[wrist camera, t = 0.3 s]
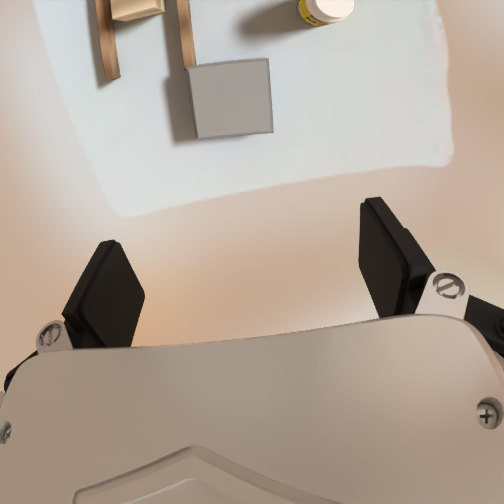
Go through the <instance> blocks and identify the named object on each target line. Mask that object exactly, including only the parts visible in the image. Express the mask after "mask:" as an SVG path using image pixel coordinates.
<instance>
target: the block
mask: <svg viewBox="0 0 504 504" xmlns="http://www.w3.org/2000/svg"><path fill="white" fill-rule="evenodd" d="M111 11H112V19H115V20H121V21H127V22H128V21H131V20H135V19H139V18H143V17H146V16H150V15H155V14H159V13H163V12H166V11H165V2H164V0H111Z"/></svg>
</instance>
